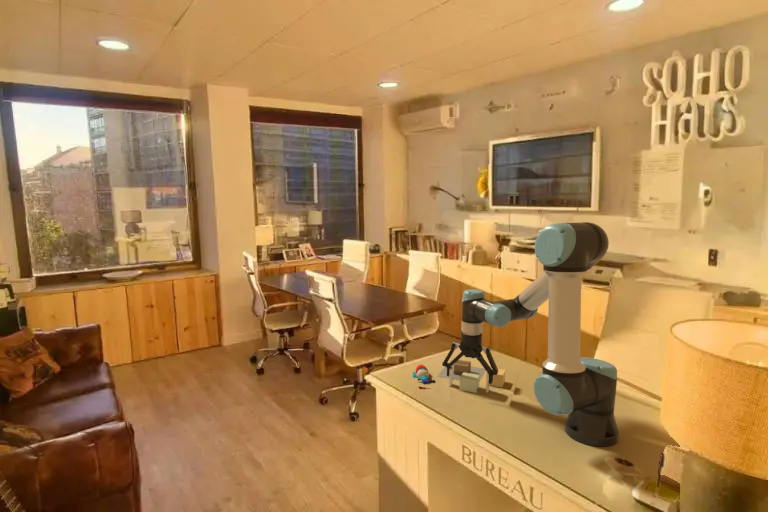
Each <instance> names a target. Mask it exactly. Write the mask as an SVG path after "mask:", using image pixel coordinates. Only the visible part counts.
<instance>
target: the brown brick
mask: <svg viewBox="0 0 768 512" xmlns="http://www.w3.org/2000/svg"><path fill="white" fill-rule="evenodd" d="M471 367H472V361H469V360H463V359H459V360H458V361H457V362H456V363H455V364H454V374H456V375H462V374H463V372H464V373H470V371H471Z"/></svg>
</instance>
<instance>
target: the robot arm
mask: <svg viewBox="0 0 768 512" xmlns="http://www.w3.org/2000/svg"><path fill="white" fill-rule="evenodd" d="M609 243H610V242H609V238H608V234H607V233H606V231H605V230H604V229H603V228H602V227H601V226H600V225H598V224H596V223H594V222H589V221H587V222H586V221H584V222H583V221H582V222H558V223H552V224H548V225H547V226H545V227H544V228H543V229H542V230H541V231H540V232H539V233H538V234H537V236H536V238H535V241H534V255H535V256H536V258H537V261H538V262H539V263H540V264H541V265H543V266H542V267H543V269H542V273H541V274H540V275H538V277H537V278H535V279H533V281H532V282H531V283H530V284H529V285H528V286H526V287H525V288H524V289H523V290H522V291H521V292H520V293H519V294H518V295H517V296H515V297H514V298H510V299H503V300H496V301H495V300H489V299H486V298H485V292H484V291H483V290H481V289H476V288H475V289H474V288H473V289H472V288H469V289H465V290H464V291H463V293H462V300H461V303H462V305H461V306H462V307H461V308H462V309H461V327H460V329H461V332H460V343H457V342H456V341H453V342H452V344H451V347H450V349H449V352H448V353H447V355H446V357H445V358H444V360H443V361H442V367H447V376H449V378H448V387H452V385H454V384H453V381H454V379H453V367H451V366H452V365H453V364H455V363H456V362H457V361H458V360H461V358H462V357H463V356H464V357H465V358H470V359H476V360H477V361H478V362H479V364H481V366H482V368H483V369H485V372H486V376H487V378H485V380H486V381H485V393H486V394H488V393H489V391H490V385H489V384H492V382H493V375H497V374H498V369H499V368H498V367H497V364H496V362H495V360H494V357H493V355H492V350H491V349H492V348H491V347H490V346H487V347H483V345H482V344H483V342H482V341H483V334H482V333H483V326H484V325H483V324H484V323H486V324H489V325H490V326H493V327H498V328H503V327H506V325H508V324H509V323H510V322H515V321H520V320H528V319H531V318H533V317H535V316H537V313H538V310H539V307H541V306H542V305H543V304H544V303H546V302H547V301H548V317H547V318H548V319H547V320H548V322H547V323H548V328H547V329H548V331H547V335H548V336H547V359H545V360H544V361H543V362H542V366H541V368H542V371H541V372H542V374H539V375H538V376H537V378H535V379H534V382H533V392H534V396H535V399H536V400H537V402H538V404H540V406H541V408H543V409H544V411H546V412H547V413H549V414H550V415H554V416H562V415H567V416H566V418H565V422H564V432H565V433H566V434H567V435H568V437H570V438H571V439H573V440H574V441H577V442H579V443H582V444H585V445H589V446H593V447H610V446H613V445H615V444H617V443H618V441H619V436H620V435H619V429H618V425H617V421H616V417H615V407H616V406H615V405H616V404H615V403H616V393H617V385H618V384H617V383H618V382H617V381H618V379H619V378H618V370H617V368H616V367H615V365H614V364H612V363H610V362H608V361H605V360H601V359H598V358H593V357H587V356H585V357H584V356H583V357H582V356H581V327H582V326H581V321H582V320H581V319H582V318H581V317H582V315H581V314H582V310H581V308H582V278H583V276H584V275H586V274H587V272H588V271H589V270H590V269H592V268H593V267H594V266H596V265H597V264H598V263H599V262H600V261H601V260H602V259H603V258H604V257H605V255H606V254H607V252H608V250H609ZM483 322H484V323H483ZM458 348H459V350H460V351H461V352H459V353H458V354H457V356H455V357H454V358H453V359H452V360H450V359H451V357H452V355H453V353H454V352H455V350H457V349H458ZM482 352H483V353H484V355H486V356H485V357H486V358H487V361H488V362H487V361H486V358H484V356H483V354H482ZM449 361H450V362H449ZM491 368H492V369H491ZM487 373H488V374H487Z"/></svg>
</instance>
